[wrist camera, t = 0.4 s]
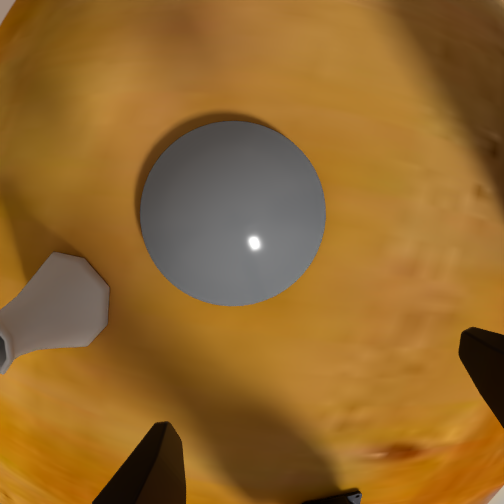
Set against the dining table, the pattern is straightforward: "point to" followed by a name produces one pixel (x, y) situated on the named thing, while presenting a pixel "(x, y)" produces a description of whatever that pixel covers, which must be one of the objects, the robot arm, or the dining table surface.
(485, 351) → the robot arm
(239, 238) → the slate coaster
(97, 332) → the flask
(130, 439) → the dining table surface
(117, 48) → the dining table surface
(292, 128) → the dining table surface
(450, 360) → the dining table surface
